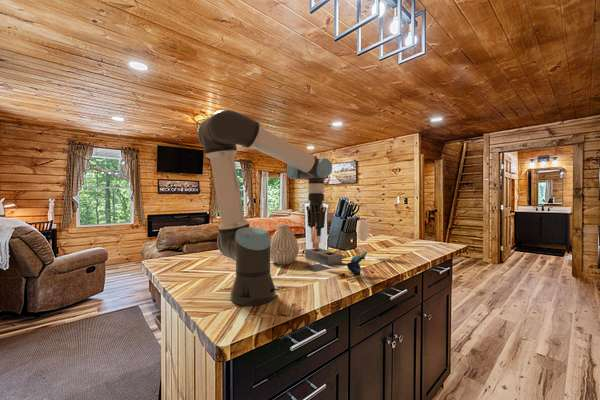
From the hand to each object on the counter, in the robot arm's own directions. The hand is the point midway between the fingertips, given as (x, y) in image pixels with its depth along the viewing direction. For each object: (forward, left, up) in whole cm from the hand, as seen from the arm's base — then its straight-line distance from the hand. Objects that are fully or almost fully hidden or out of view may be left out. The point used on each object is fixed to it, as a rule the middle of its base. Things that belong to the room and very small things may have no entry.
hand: (315, 242), depth 123 cm
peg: (0, 0, -3) cm, 3 cm away
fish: (-18, -9, -13) cm, 24 cm away
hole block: (+9, -11, -13) cm, 19 cm away
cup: (+4, -36, -13) cm, 39 cm away
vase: (+18, +8, -13) cm, 23 cm away
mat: (0, 0, -13) cm, 13 cm away
